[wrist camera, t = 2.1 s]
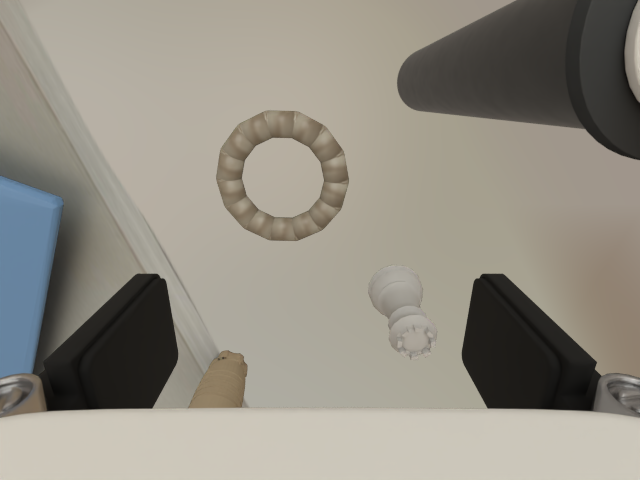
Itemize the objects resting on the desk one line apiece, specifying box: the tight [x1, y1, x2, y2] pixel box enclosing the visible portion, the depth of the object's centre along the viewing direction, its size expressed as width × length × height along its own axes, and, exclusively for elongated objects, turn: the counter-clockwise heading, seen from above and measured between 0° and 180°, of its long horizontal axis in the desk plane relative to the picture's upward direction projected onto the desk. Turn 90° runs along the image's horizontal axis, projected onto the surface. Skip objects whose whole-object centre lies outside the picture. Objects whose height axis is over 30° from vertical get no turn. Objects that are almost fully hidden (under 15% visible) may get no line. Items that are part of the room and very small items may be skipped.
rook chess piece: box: [368, 265, 437, 360], centre depth 27 cm, size 4×4×8 cm
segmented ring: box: [216, 111, 349, 241], centre depth 27 cm, size 10×10×2 cm
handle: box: [189, 351, 247, 408], centre depth 27 cm, size 5×6×15 cm
